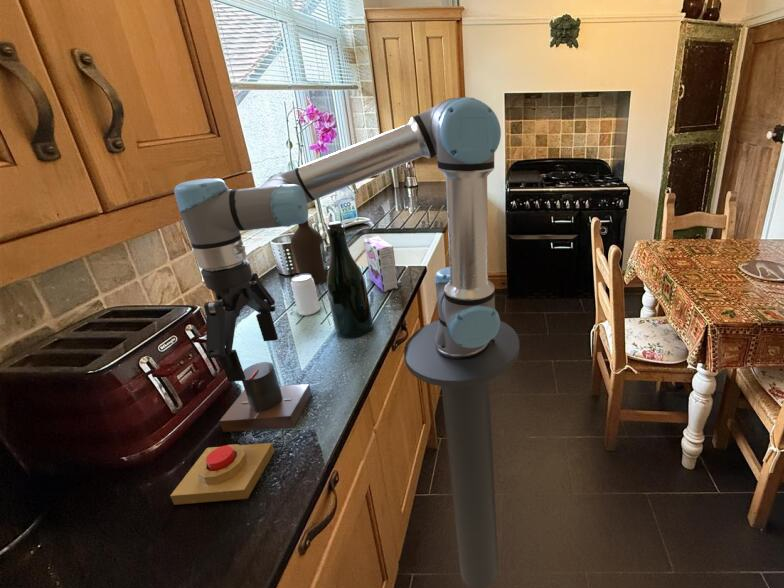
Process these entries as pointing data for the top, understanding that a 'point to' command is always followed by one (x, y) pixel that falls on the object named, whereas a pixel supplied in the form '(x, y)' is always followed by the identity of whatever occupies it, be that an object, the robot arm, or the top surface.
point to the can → (305, 294)
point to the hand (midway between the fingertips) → (255, 358)
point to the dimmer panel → (267, 411)
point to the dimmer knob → (262, 386)
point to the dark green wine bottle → (346, 287)
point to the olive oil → (310, 252)
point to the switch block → (224, 476)
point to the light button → (220, 458)
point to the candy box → (381, 263)
